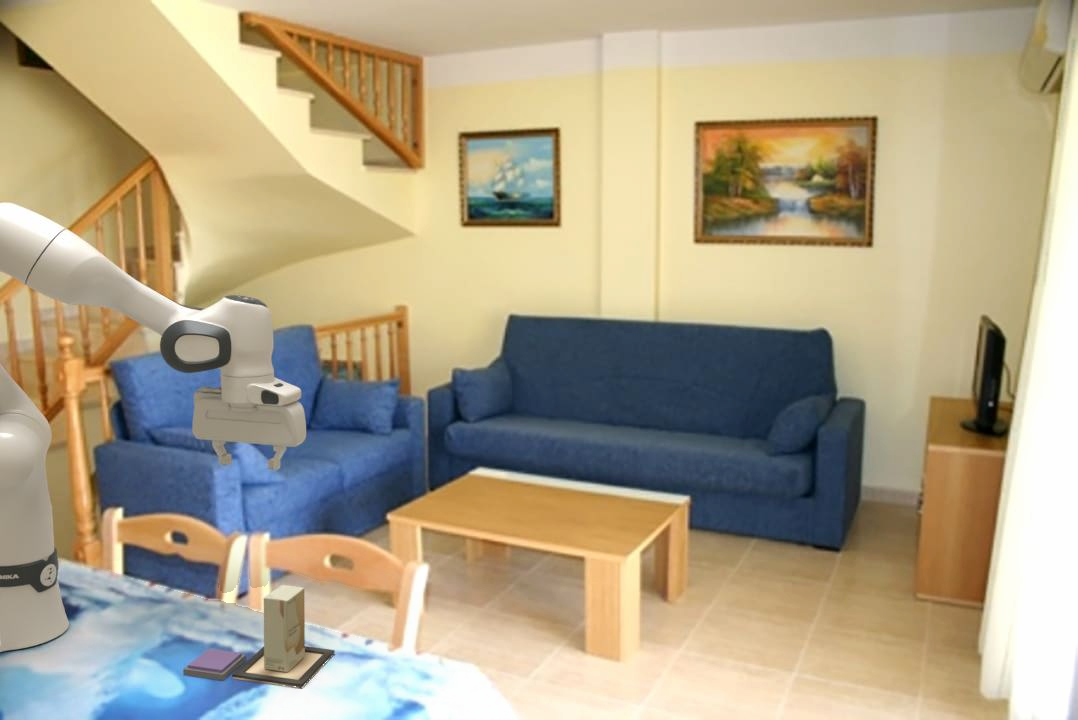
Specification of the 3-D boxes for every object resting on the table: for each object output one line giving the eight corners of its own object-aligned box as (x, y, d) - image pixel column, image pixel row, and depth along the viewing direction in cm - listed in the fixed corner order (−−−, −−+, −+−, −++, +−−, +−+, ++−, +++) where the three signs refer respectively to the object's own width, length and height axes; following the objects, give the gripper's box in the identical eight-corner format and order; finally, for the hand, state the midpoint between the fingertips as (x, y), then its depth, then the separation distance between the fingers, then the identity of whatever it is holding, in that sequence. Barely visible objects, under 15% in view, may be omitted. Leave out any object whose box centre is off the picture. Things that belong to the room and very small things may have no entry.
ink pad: (183, 674, 150) (183, 666, 150) (207, 655, 157) (207, 646, 156) (223, 680, 149) (222, 671, 148) (246, 660, 155) (245, 652, 155)
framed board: (232, 678, 149) (232, 674, 149) (269, 645, 161) (269, 641, 161) (301, 688, 147) (301, 684, 147) (334, 654, 158) (334, 650, 158)
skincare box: (287, 673, 151) (286, 601, 149) (263, 669, 152) (261, 598, 150) (306, 655, 157) (305, 586, 155) (283, 652, 158) (281, 583, 156)
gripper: (183, 388, 161) (186, 466, 164) (292, 396, 157) (294, 476, 159) (203, 382, 168) (206, 457, 170) (309, 390, 163) (310, 467, 165)
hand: (249, 466), depth 164 cm, fingers open, 8 cm apart
